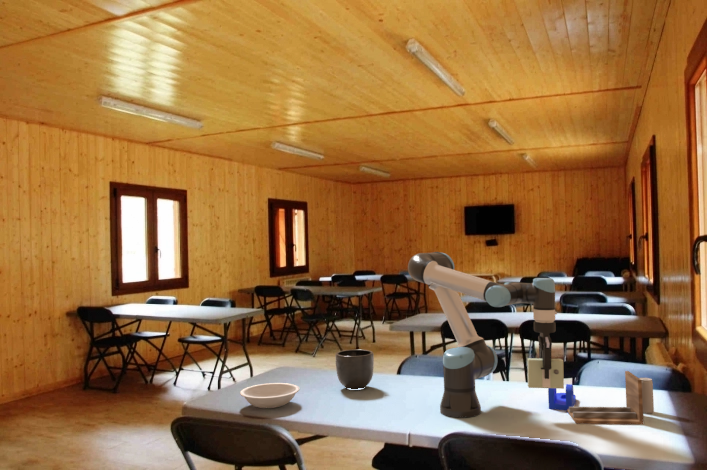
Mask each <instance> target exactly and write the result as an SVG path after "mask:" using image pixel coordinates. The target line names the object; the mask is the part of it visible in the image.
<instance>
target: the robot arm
mask: <svg viewBox="0 0 707 470" xmlns="http://www.w3.org/2000/svg"><path fill="white" fill-rule="evenodd" d="M407 272H408V274H409V276H410V277H411V278H412V279H413V280H414V281H417V282H419V283H422V284H426V285H427V286H428V289H430V290H432V291H433V292H434V293H435V296H436V297H437V300H438V302H439V305H440V307H441V309H442V311H443V314H444V316H445V318H446V320H447V322H448V324H449V325H448V326H449V327H450V329H451V331H452V334H453V335H454V338H455V341H456V342H457V347H452V348H448V349H446V350H445V352H443V355H442V357H443V358H442V367H443V368H442V370H443V394H442V397H441V402H440V404H439V407H440V408H439V411H440V413H441V414H443V416H448V417H454V418H471V417H477V416H479V415H480V414H481V413H482V408H481V403H480V400H479V398H478V395H477V392H476V380H477V379H480V378H484V377H487V376H489V375H490V374H492V373H493V372H494V371H495V370H496V368H497V366H498V360H499V359H498V355H497V352H496V350H495V349H494V348H493V347H491V346H489V345H488V344H487V343H486V341H485V338H484V337H482V336H479V335H478V334H477V333H478V332H477V331H476V329H475V326H474V324H473V322H472V320H471V318H470V315H469V313H468V311H467V309H466V307H465V305H464V302H463V301H462V298H461V296H460V294H459V293H461V294H463V295H467V296H469V297H473V298H476V299H478V300H481V301H485V302H487V303H488V305H489V306H491V307H494V308H502V307H505V306H510V305H515V304H532V306H533V309H532V310H533V320H534V321H533V331H534V332H535V333H539V335H538V337H537V340H538V358H542V359H543V368H541V369H542V387H547V388H546V389H548V388H551V386H550V369H551V368H552V367H551V359H552V347H553V343H552V337H550V334H553V333H555V332H556V326H557V325H556V315H557V314H558V313H557V311H556V285H555V280H554V279H553V278H549V277H535V278H533V279H532V282H516V281H507V282H504V283H503V284H501V283H499V282H498V283H497V282H496V281H495V282H494V281H492V280H489V279H485V278H482V277H479V276H475V275H471V274H470V273H465V272H463V271H459V270H455V263H454V260H453V259H452V258H451V256H450V255H448V254H447V253H444V252H441V251H434V252H433V251H432V252H419V253H416V254H414V255H413V256H412V257H410V259H409V261H408V264H407Z"/></svg>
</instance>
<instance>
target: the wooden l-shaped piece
mask: <svg viewBox="0 0 707 470" xmlns="http://www.w3.org/2000/svg"><path fill="white" fill-rule="evenodd" d="M624 377H625V400H626V401H625V402H626V403H625V404H626V405H625V406H574V407H569V409H567V410H566V412H567V413H568V415H569V417H571V419H572V420H573V421H574V423H575V424H589V425H590V424H595V425H597V424H599V425H601V424H603V425H605V424H606V425H644V413H643V401H642V380H641V379H639V378H640V377H638V376H636V375H635V374H633V373H632V372H630V371H629V370H624Z"/></svg>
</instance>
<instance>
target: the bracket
mask: <svg viewBox="0 0 707 470" xmlns="http://www.w3.org/2000/svg"><path fill="white" fill-rule="evenodd" d="M573 385H574V384H572V383H571V384H570V383H569V384H568V383H566V384H565V392H557V388H547V391H548V392H547V393H548V394H547V395H548V409H549V410H560V411H567V409H569V407H575V405H576V402H577V399H576V397H577V396H576V395H575V394H574V386H573Z"/></svg>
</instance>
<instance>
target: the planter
mask: <svg viewBox="0 0 707 470" xmlns="http://www.w3.org/2000/svg"><path fill="white" fill-rule="evenodd" d="M334 355H335V370H336V375H337V378H338V381H339V382H340V385H342V386H343V387H344V388H345V387H346V388H351V389H358V388H364V387H366V388H367V386H368V385H369V384H370V382H371V381H372V379H373V376H374V367H375V366H374V365H375V360H374V359H375V355H374V352H373V351H372V350H369V349H359V348H358V349H343V350H340V351H337V352H335V354H334ZM346 388H345V389H346Z"/></svg>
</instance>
